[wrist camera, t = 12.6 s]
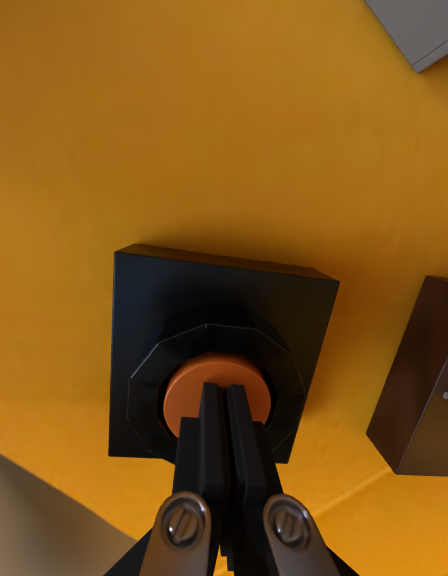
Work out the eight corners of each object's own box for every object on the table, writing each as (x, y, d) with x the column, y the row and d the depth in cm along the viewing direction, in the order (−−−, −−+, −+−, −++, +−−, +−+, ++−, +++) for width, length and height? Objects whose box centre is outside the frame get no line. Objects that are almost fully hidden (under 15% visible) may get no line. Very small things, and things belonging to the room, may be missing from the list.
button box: (133, 243, 13) (92, 259, 8) (313, 267, 14) (368, 295, 9) (124, 413, 16) (91, 498, 11) (274, 422, 17) (301, 503, 12)
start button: (174, 332, 11) (168, 357, 9) (268, 341, 12) (281, 367, 10) (166, 411, 12) (159, 448, 10) (251, 417, 13) (260, 452, 11)
